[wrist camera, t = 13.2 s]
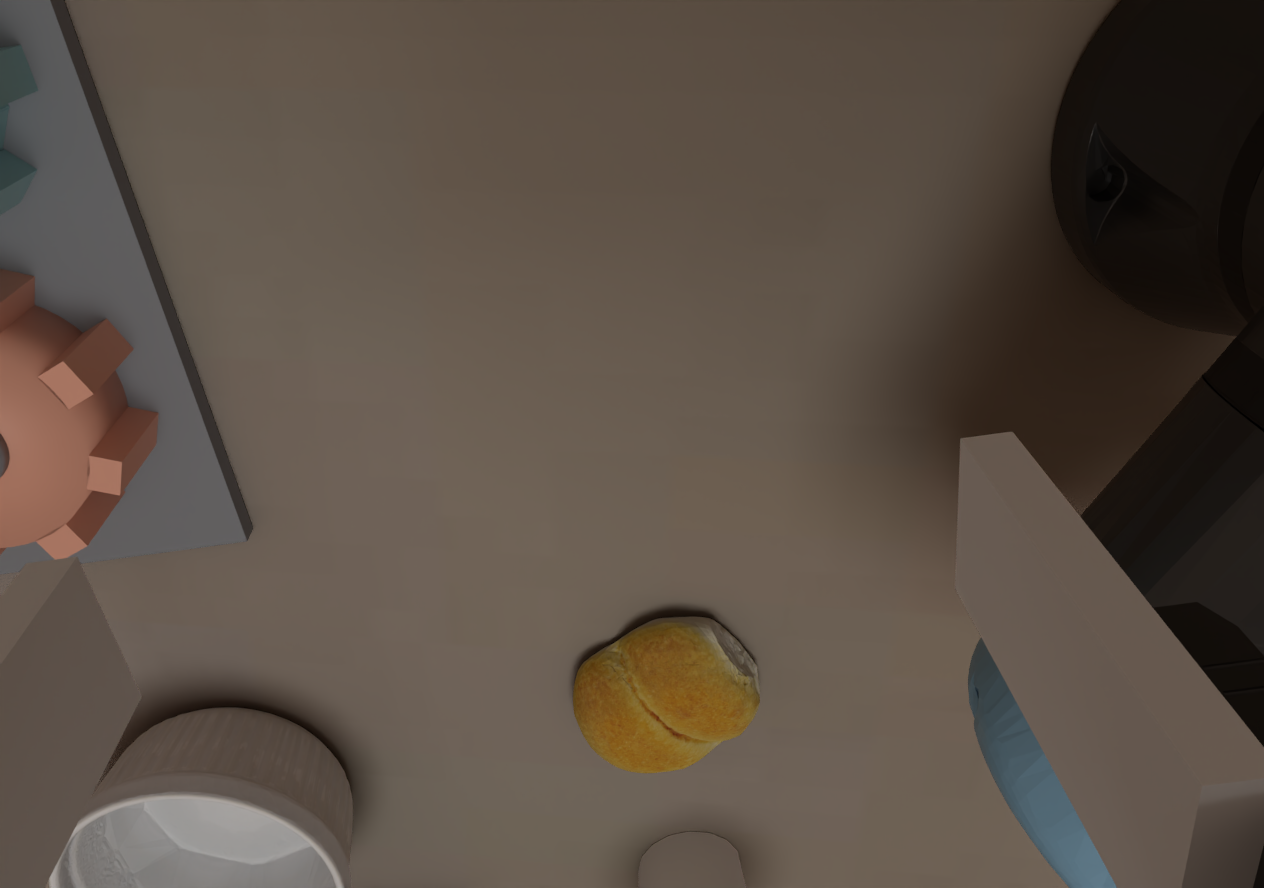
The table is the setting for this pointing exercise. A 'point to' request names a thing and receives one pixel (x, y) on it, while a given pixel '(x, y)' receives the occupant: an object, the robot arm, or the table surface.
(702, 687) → the bread roll
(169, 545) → the gear board
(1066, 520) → the robot arm
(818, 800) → the table surface
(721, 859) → the drinking glass
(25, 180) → the teal gear
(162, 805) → the ramekin
